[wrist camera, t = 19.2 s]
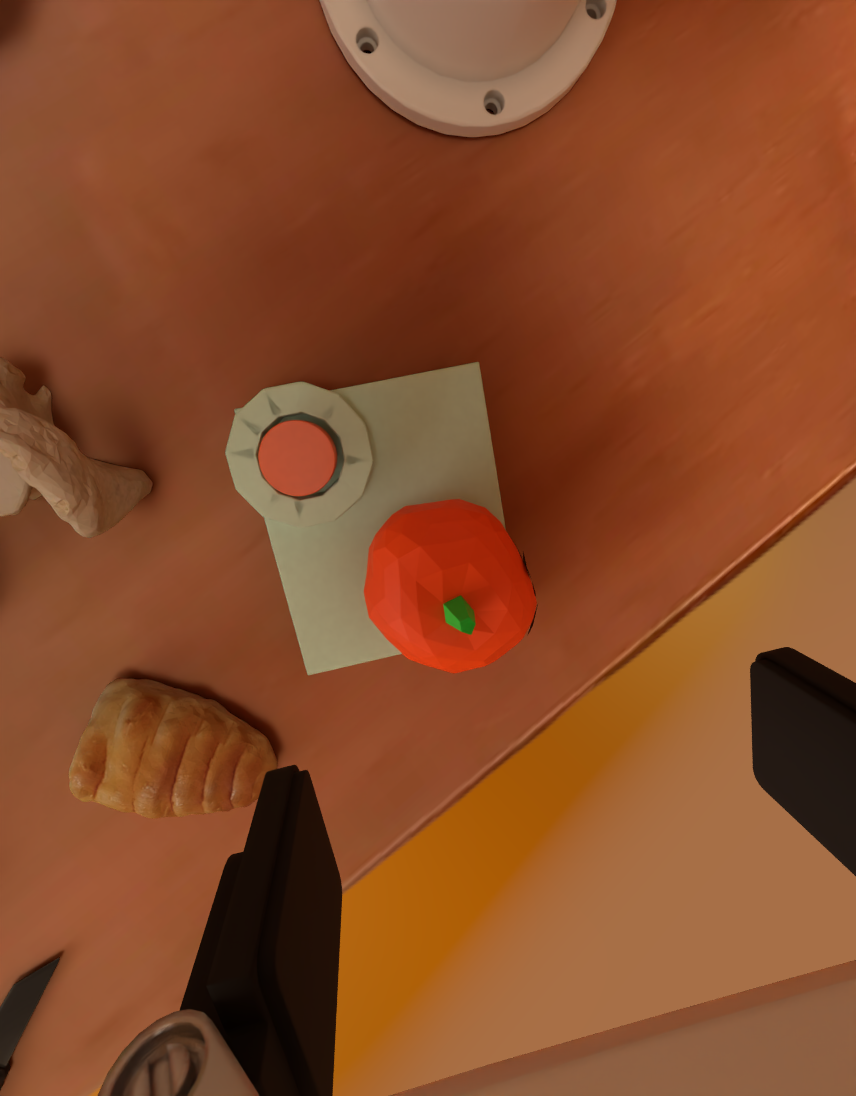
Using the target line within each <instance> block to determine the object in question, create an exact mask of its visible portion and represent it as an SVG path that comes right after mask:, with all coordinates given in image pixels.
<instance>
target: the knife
mask: <svg viewBox="0 0 856 1096" xmlns="http://www.w3.org/2000/svg"><path fill="white" fill-rule="evenodd" d="M59 959H60V957H59V958H57V959H56V960H54V961H52V962H51V963H49V964H47V965H46V966H44V967H42V968H40V969H39V970H37V971H35V972H34V973H32V974H30V975H29V976H27V977H25V978H24V979H22V980H20V981H19V982H17V983H15V984H14V985H13V987H12V988H11V990H10V992H9V993H8V995H7V997H6V998H5V1000H4V1002H3V1003H2V1005H1V1007H0V1089H1V1088H2V1086H3V1084H4V1080H5V1078H6V1076H7V1074H8V1072H9V1070H10V1065H9V1063H8V1061H9V1059H10V1057H11V1055H12V1053H13V1051H14V1049H15V1047H16V1045H17V1043H18V1041H19V1039H20V1037H21V1036H22V1034H23V1032H24V1030H25V1028H26V1026H27V1024H28V1022H29V1020H30V1018H31V1016H32V1014H33V1012H34V1010H35V1008H36V1006H37V1004H38V1002H39V1000H40V998H41V996H42V994H43V992H44V990H45V988H46V986H47V984H48V982H49V980H50V978H51V976H52V974H53V972H54V970H55V968H56V966H57V964H58V962H59Z"/></svg>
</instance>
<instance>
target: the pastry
mask: <svg viewBox="0 0 856 1096" xmlns="http://www.w3.org/2000/svg"><path fill="white" fill-rule="evenodd" d="M275 769H277V759H276V757H275V754H274V752H273V749H272V746H271V744H270V742H269V740H268V739H267V737H266V736H265V735H263V734H262V733H260V732H259V730H258V729H254V728H252V727H251V726H249V724H248V723H247V722H246V721H244V720H240V719H238V718H237V717H236V716H234V715H232V714H231V713H229V712H228V711H227V710H226V708H225V707H224V706H222V705H221V704H220V703H218V702H216V701H215V700H212V699H205V698H203V697H201V696H199V695H197V694H194V693H190V692H187V691H184V690H182V689H175V688H172V687H169V686H166V685H164V684H163V683H160V682H156V681H153V680H149V679H139V680H136V679H125V678H119V679H116V680H114V681H112V682H110V683H109V684H108V685H107V686H106V688H105V689H104V691H103V692H102V694H101V695H100V697H99V699H98V701H97V703H96V705H95V707H94V708H93V711H92V717H91V719H90V720H89V723H88V725H87V727H86V729H85V731H84V732H83V734H82V736H81V738H80V741H79V745H78V747H77V749H76V752H75V754H74V757H73V761H72V764H71V766H70V769H69V778H70V783H69V786H70V790H71V792H72V794H73V795H74V796H75V797H76V798H78V799H79V800H81V801H82V802H87V801H94V802H97V803H100V804H102V805H104V806H107V807H109V808H112V809H115V810H118V811H121V812H135V813H138V814H140V815H142V816H144V817H147V818H152V819H153V818H160V817H182V816H187V815H189V814H206V813H214V812H219V811H230V810H232V809H234V808H239V807H247V806H249V805H250V804H251V803H253V802H254V801H255V800H257V799H258V798H259V794H260V791H261V787H262V784H263V780H264V777H265V774H266V772H268V771H271V770H275Z"/></svg>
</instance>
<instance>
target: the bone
mask: <svg viewBox="0 0 856 1096" xmlns="http://www.w3.org/2000/svg"><path fill="white" fill-rule="evenodd" d="M25 380H26V379H25V375H24V374H23V373H22V371H21V370H19V369H18V368H16V367H15V366H14V365H12V364H11V363H10V362H8V361H7V360H6V359H4V358H2V357H0V516H8V515H17V514H19V513H20V511H21V510H22V509H23V507H24V506H25V505H26V503H27V501H28V499H29V498H30V499H33V500H35V499H36V498H38V497H40V496H42V495H43V497H44V498H45V499H46V501H47V502H48V503H49V504H50V505H51V506H52V508H53V509H54V511H55V512H56V514H57V515H58V516H59V517H60V518H61V519H62V520H64V521H66V522H68V523H69V524H70V525H71V526H72V527H73V528H74V530H75V531H76V532H77V533H79V534H80V535H81V536H84V537H87V538H91V537H94V536H96V535H100V534H102V533H103V532H105V531H107V530H109V529H110V528H112V527H113V526H115V525H116V524H117V523H118V522H119V521H120V520H122V519H123V518H124V517H125V516H126V515H127V514H128V513H129V512H130V511H131V510H132V509H133V508H134V507H135V505H136V504H137V503H138V502H139V501H140V500H141V499H143V498H144V497H145V496H146V495H148V494H149V493H150V492H151V488H152V485H153V483H152V481H151V480H150V479H149V477H148V476H147V475H146V474H145V472H144V471H142V470H140V469H133V468H128V467H122V466H118V465H114V464H109V463H105V462H102V461H98V460H94V459H89V458H88V457H86V456H85V455H84V454H82V453H81V452H80V450H79V449H78V447H77V445H76V443H75V441H73V440H72V439H71V438H70V437H69V436H68V435H67V434H66V433H65V432H63V431H61V430H60V429H58V428H57V427H55V426H54V423H53V418H52V412H51V400H52V397H51V392H50V391H49V389H48V388H47V387H46V386H44V385H43V386H42V387H41V389H40V390H39V391H38V392H37V393H36V394H35V395H31V394H29V393H27V392H26V391H25V389H24V387H23V384H24V382H25Z"/></svg>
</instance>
